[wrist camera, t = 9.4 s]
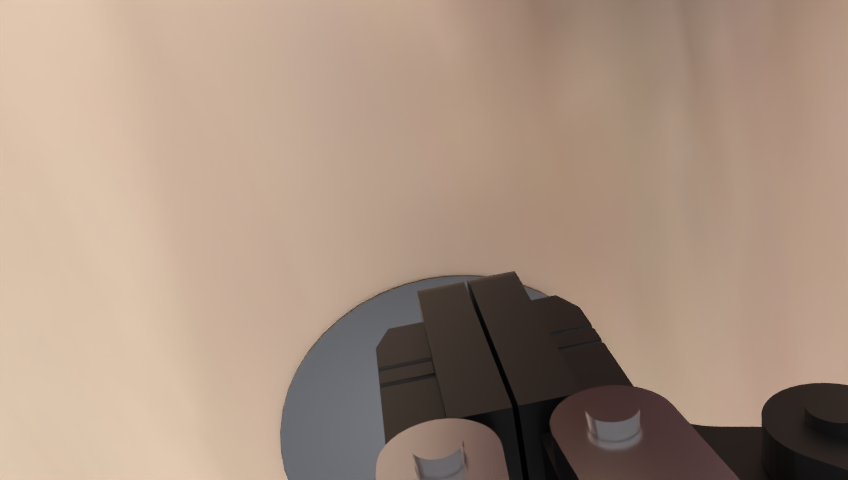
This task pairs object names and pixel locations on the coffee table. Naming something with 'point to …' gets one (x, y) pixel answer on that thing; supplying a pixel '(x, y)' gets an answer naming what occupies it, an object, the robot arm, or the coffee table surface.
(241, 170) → the coffee table surface
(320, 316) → the coffee table surface
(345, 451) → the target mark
